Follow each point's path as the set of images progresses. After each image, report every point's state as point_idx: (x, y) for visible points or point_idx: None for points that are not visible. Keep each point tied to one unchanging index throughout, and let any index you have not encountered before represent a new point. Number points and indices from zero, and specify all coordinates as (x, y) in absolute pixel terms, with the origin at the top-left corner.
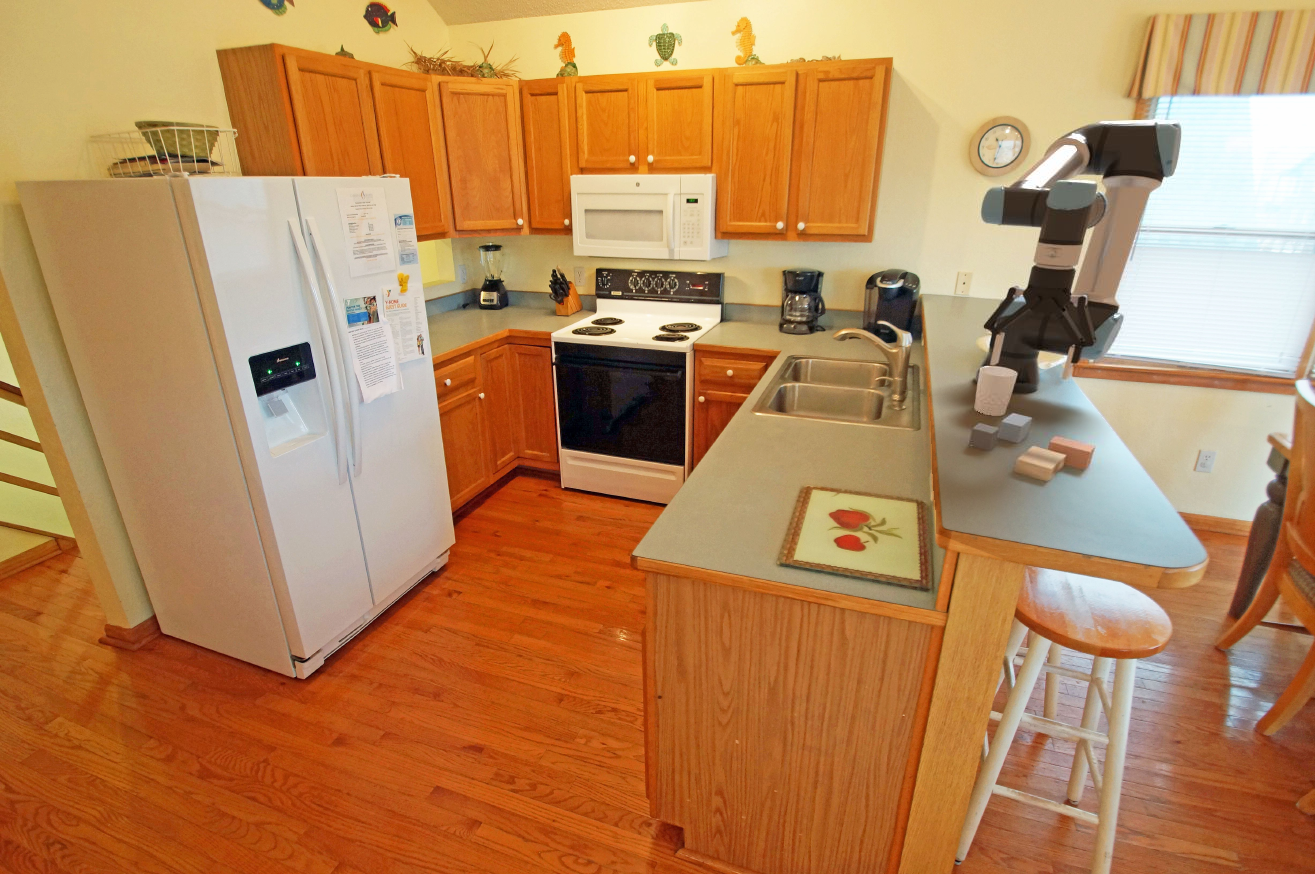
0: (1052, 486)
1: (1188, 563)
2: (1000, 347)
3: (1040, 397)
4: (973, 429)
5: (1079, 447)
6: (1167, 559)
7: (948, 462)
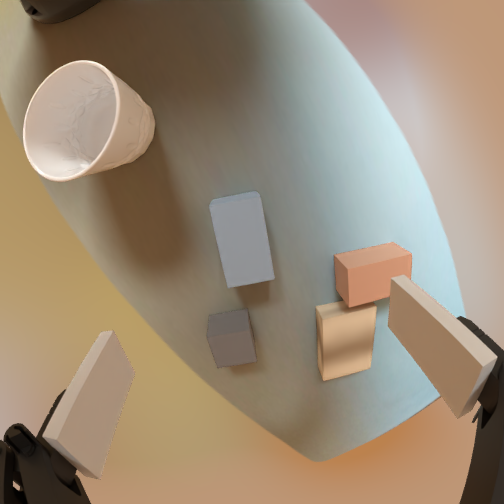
0: None
1: None
2: (95, 395)
3: None
4: (220, 366)
5: None
6: None
7: (241, 406)
